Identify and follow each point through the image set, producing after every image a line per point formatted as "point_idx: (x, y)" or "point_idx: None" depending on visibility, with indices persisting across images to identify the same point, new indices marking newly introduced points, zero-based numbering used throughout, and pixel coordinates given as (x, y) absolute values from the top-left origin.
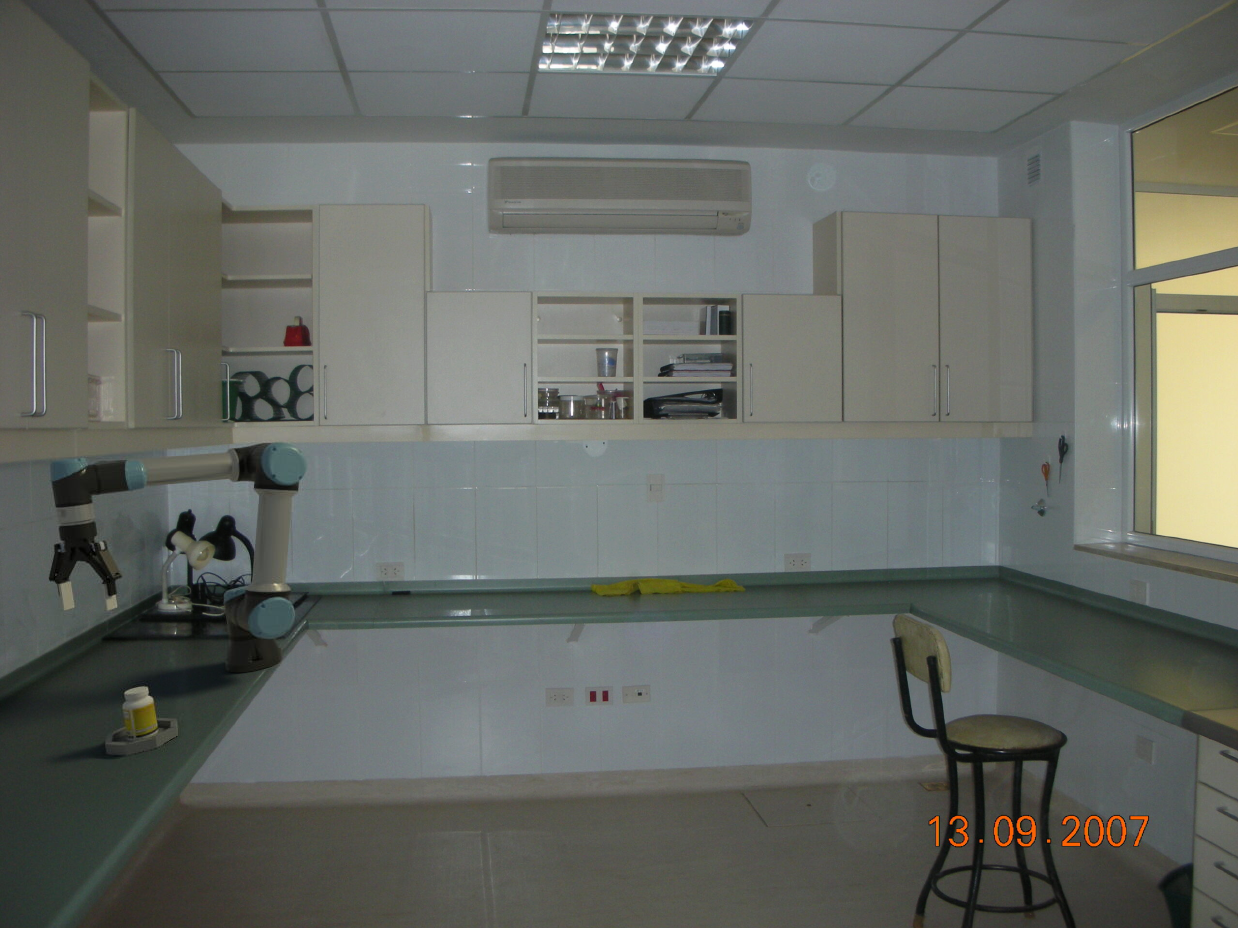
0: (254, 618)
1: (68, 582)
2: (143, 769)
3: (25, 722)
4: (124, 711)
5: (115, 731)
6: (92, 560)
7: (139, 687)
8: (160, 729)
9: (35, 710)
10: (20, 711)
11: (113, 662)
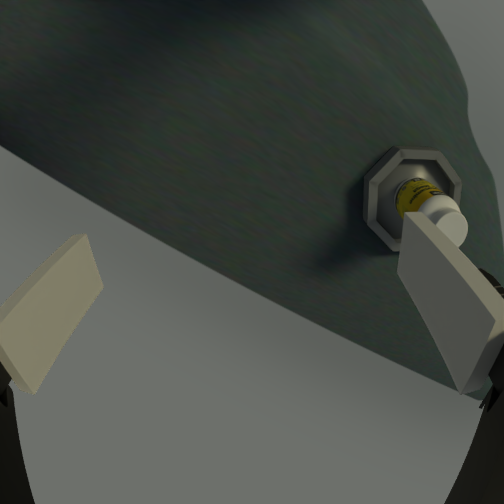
0: None
1: (4, 346)
2: None
3: (90, 179)
4: None
5: (370, 210)
6: None
7: (447, 219)
8: (421, 169)
9: (51, 141)
10: (34, 153)
11: None
